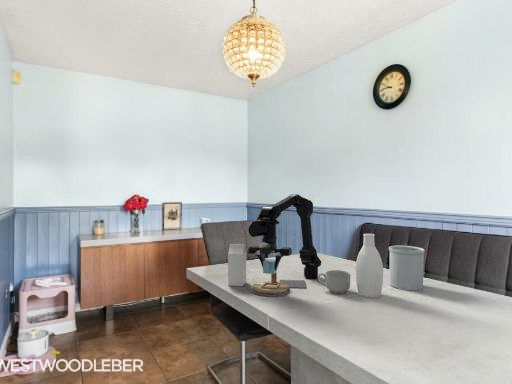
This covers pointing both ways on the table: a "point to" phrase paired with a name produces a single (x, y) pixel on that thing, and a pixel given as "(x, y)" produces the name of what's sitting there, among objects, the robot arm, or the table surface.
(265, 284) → the turntable
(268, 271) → the blue cube with post
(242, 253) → the milk carton
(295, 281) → the mat
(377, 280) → the bottle
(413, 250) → the utensil holder
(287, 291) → the turntable base
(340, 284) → the teacup
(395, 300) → the table surface
